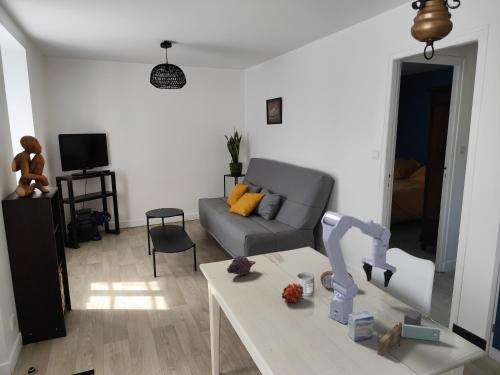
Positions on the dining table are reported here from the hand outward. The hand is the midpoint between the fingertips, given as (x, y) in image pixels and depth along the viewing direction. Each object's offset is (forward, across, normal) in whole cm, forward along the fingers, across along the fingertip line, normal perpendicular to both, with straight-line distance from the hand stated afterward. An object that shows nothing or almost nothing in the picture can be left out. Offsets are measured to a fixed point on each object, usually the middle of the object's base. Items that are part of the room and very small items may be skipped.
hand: (377, 283), depth 147 cm
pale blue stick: (+9, -23, +12) cm, 28 cm away
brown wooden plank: (+9, -17, +23) cm, 30 cm away
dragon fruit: (+10, +27, +24) cm, 37 cm away
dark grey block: (+10, -18, +6) cm, 21 cm away
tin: (+10, +20, 0) cm, 22 cm away
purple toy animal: (+10, +64, +22) cm, 68 cm away
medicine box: (+10, -7, +26) cm, 29 cm away
